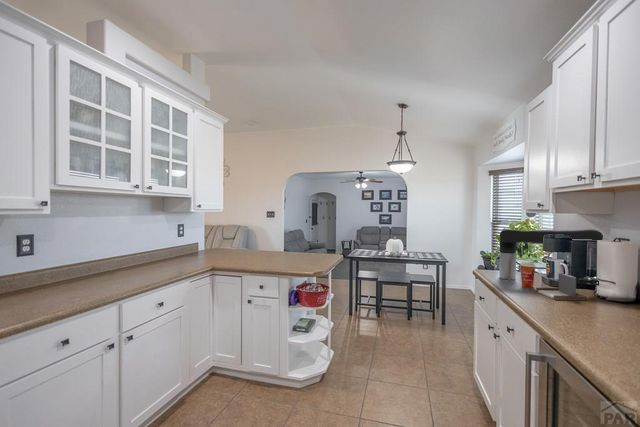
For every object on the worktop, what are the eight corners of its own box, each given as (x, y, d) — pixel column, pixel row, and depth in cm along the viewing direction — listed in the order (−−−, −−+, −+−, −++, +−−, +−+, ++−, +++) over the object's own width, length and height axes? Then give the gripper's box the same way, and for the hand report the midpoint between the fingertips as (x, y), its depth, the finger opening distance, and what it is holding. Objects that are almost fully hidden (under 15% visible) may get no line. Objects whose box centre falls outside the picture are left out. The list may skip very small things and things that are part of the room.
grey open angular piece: (538, 292, 171) (538, 272, 171) (560, 292, 170) (561, 272, 170) (552, 298, 159) (552, 277, 159) (577, 299, 158) (577, 277, 158)
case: (536, 291, 173) (536, 287, 173) (564, 291, 172) (564, 288, 171) (555, 299, 157) (555, 295, 157) (586, 300, 156) (586, 296, 156)
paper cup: (516, 285, 185) (517, 262, 184) (524, 284, 188) (525, 261, 188) (530, 288, 178) (530, 264, 177) (538, 287, 181) (538, 263, 180)
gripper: (603, 271, 168) (569, 271, 170) (625, 277, 155) (588, 276, 157) (603, 285, 168) (569, 284, 170) (624, 292, 155) (588, 291, 157)
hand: (578, 281), depth 163 cm, fingers closed
